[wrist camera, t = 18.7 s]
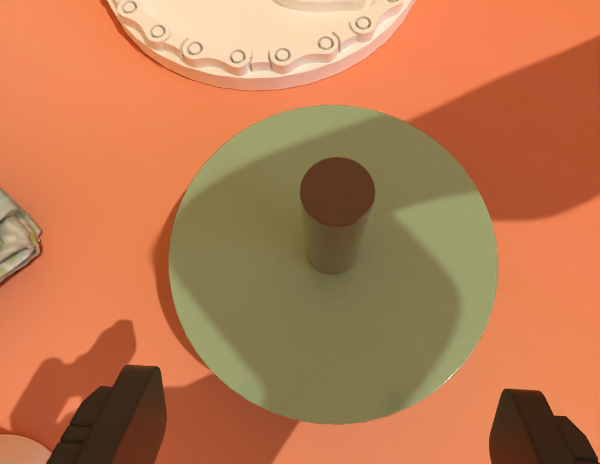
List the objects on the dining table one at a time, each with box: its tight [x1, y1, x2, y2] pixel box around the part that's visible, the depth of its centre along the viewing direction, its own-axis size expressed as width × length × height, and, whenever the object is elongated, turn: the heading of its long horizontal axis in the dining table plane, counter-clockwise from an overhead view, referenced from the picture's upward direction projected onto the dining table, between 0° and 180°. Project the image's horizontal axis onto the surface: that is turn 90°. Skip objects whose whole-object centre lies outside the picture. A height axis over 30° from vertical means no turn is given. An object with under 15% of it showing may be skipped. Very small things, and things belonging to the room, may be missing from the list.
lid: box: [168, 105, 498, 425], centre depth 20 cm, size 15×15×8 cm
